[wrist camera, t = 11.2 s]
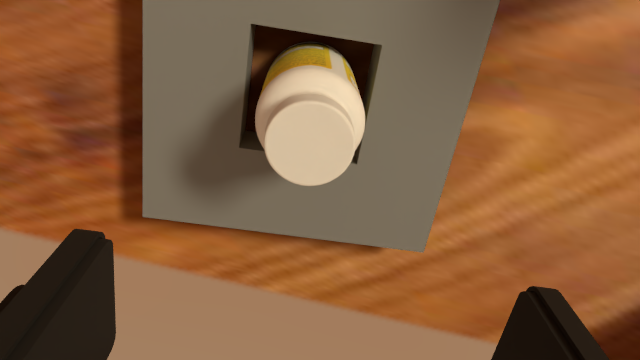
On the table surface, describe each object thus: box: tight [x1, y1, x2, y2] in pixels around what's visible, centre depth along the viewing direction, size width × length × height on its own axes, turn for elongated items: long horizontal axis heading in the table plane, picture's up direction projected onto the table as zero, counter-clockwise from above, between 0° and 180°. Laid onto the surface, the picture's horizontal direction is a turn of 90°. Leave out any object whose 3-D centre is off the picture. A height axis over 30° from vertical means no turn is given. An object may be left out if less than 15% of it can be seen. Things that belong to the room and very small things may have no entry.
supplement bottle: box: [255, 42, 365, 186], centre depth 25 cm, size 5×5×10 cm
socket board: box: [143, 0, 500, 252], centre depth 28 cm, size 18×18×3 cm
